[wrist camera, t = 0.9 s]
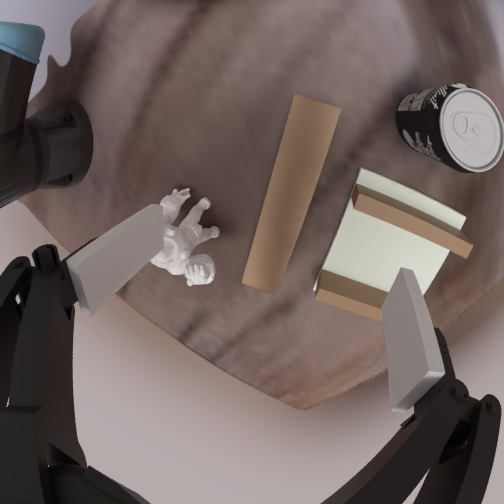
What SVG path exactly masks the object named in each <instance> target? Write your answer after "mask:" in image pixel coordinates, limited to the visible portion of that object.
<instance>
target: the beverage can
mask: <svg viewBox="0 0 504 504" xmlns="http://www.w3.org/2000/svg"><path fill="white" fill-rule="evenodd" d="M397 125H398V129H399V132H400V134H401V136H402V137H403V139H404V140H405V142H406V143H407V144H408V145H409V146H410V147H412V148H413V149H414V150H416V151H418V152H421V153H423V154H425V155H427V156H429V157H431V158H433V159H435V160H437V161H439V162H441V163H443V164H445V165H447V166H449V167H451V168H453V169H455V170H457V171H459V172H463V173H475V172H483V171H486V170H489V169H490V168H492V167H493V166H494V165H495V164H496V163H497V162H498V161H499V159H500V157H501V155H502V153H503V150H504V124H503V120H502V117H501V115H500V113H499V111H498V109H497V107H496V106H495V105H494V103H493V102H492V101H491V100H490V99H489V98H488V97H487V96H486V95H485V94H483V93H482V92H480V91H478V90H475V89H473V88H472V87H470V86H467V85H464V84H459V83H453V84H448V85H443V86H439V87H435V88H430V89H426V90H422V91H419V92H415V93H412V94H409V95H408V96H406V97H405V98H404V99H403V100H402V102H401V103H400V105H399V108H398V111H397Z"/></svg>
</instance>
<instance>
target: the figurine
mask: <svg viewBox="0 0 504 504" xmlns="http://www.w3.org/2000/svg"><path fill="white" fill-rule="evenodd" d="M188 191H190V188H187V189H184V190H181V191H180V192H178V190H177V189H174V190H173V193H172V194H171V195H170V196H169V195H167V196H166V197H164V198H163V199H162V200H161V203H160V205H161V206H163V239H164V248H163V249H162V250H161V251H160V252H159V253H158V254H157V255H156V256H154V257H153V258H152V259H151V260H150V262H151V263H152V264H155V265H156V266H158V267H161V268H165V269H167V270H168V271H169V272H170V273H171V274H173V275H181V274H184V273H185V277H186V278H187V280H188V281H187V284H188V285H189V286H192V285H193V284H196V285H199V284H208V283H210V282H211V281H213V280H214V275H215V266H214V261H212V258H211V257H210V256H209V255H208V254H199V255H193V256H190V254H191V252H192V251H193V249H194V247H195V246H197V245H198V243H201V242H204V241H206V240H208V239H210V238H216V237H218V236H219V235H220V230H219V228H218V227H216V226H212V227H211V228H204V229H203V227H202V226H201V225H199V224H198V222H199V221H200V218H201V215H202V214H203V211H204V210H205V209H206V210H207V209H209V208H210V206H211V202H210V200H209V199H208V198H205V197H204V198H202V199H201V200H200V201H199V203H198V204H197V205H196V206H194V207H193V208H192V209H191V210H190V212H189V214H188V216H187V217H186V218H185V219H184V220H183V221H182V222H181V223H180V225H179V226H178V227H175V226H172V225H171V224H172V223H173V222H174V221H175V219H176V218H177V216H178V215H179V210H180V207H181V205H182V204H183V203H185V200H186V199H187V198H189V197H190V196H191V195H190V194H189V192H188Z"/></svg>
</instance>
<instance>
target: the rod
mask: <svg viewBox="0 0 504 504" xmlns="http://www.w3.org/2000/svg"><path fill="white" fill-rule="evenodd" d="M340 111H341V109H340V108H338V107H335V106H332V105H329V104H326V103H323V102H320V101H316V100H313V99H310V98H306V97H303V96H300V95H296V94H294V98H293V101H292V105H291V109H290V112H289V116H288V119H287V123H286V126H285V130H284V133H283V137H282V140H281V144H280V148H279V151H278V155H277V158H276V162H275V165H274V169H273V172H272V176H271V180H270V183H269V187H268V190H267V194H266V197H265V201H264V204H263V208H262V212H261V215H260V219H259V222H258V226H257V229H256V233H255V237H254V240H253V244H252V247H251V251H250V254H249V258H248V262H247V265H246V269H245V272H244V276H243V280H242V283H244V284H246V285H249V286H251V287H254V288H257V289H259V290H262V291H265V292H267V293H270V294H273V295H276V294H277V291H278V289H279V286H280V284H281V281H282V278H283V276H284V273H285V271H286V268H287V265H288V263H289V260H290V257H291V255H292V252H293V249H294V247H295V244H296V241H297V239H298V236H299V233H300V230H301V228H302V225H303V222H304V219H305V216H306V214H307V211H308V208H309V205H310V202H311V199H312V197H313V194H314V191H315V188H316V185H317V182H318V179H319V176H320V173H321V170H322V167H323V164H324V161H325V158H326V155H327V152H328V149H329V146H330V143H331V140H332V137H333V134H334V130H335V127H336V124H337V121H338V118H339V114H340Z"/></svg>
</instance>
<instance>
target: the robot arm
mask: <svg viewBox="0 0 504 504" xmlns="http://www.w3.org/2000/svg"><path fill="white" fill-rule="evenodd" d="M44 39H45V32H44V30H43V29H42V28H41V27H40V26H36V25H30V24H22V23H14V22H1V21H0V208H2V207H4V206H5V205H7V204H9V203H11V202H13V201H15V200H17V199H19V198H21V197H22V196H24V195H26V194H28V193H30V192H33V191H35V190H37V189H50V188H66V187H69V186H71V185H73V184H76V183H78V182H79V181H80V180H81V179H82V178H83V177H84V176H85V174H86V172H87V170H88V168H89V165H90V161H91V156H92V132H91V127H90V123H89V120H88V117H87V115H86V113H85V111H84V109H83V108H82V107H81V105H80V104H78V103H77V102H75V101H73V100H63V101H57V102H54V103H52V104H50V105H49V106H47V107H45V108H43V109H42V110H40V111H38V112H37V113H35V114H34V115H32V116H30V117H29V118H26V119H25V116H26V110H27V104H28V99H29V95H30V90H31V86H32V82H33V78H34V74H35V70H36V67H37V64H39V57H40V53H41V49H42V46H43V42H44ZM163 248H164V239H163V206H161V205H157V204H150V205H149V206H147V207H145V208H144V209H142V210H140V211H139V212H137V213H135V214H134V215H132V216H131V217H129V218H127V219H126V220H124V221H123V222H121V223H120V224H118V225H117V226H115V227H113V228H112V229H110V230H109V231H107V232H106V233H104V234H103V235H101V236H99V237H97V238H94V239H92V240H90V241H89V242H87V243H86V244H85V245H83V246H82V247H80V248H79V249H77V250H76V251H74V252H73V253H72V254H70V255H69V256H68V257H66V258H65V259H63V260H62V261H61V262H60V259H59V255H58V251H57V247H56V246H55V245H52V244H46V245H42V246H40V247H38V248H37V249H35V250H34V251H33V253H32V257H33V260H34V263H35V267H34V266H31V263H30V260H29V258H28V257H26V256H20V257H17V258H15V259H14V260H12V262H10V264H9V265H8V266H7V267H6V269H5V270H4V272H3V273H2V274H1V276H0V504H150V503H149V502H148V501H147V500H145V499H144V498H143V497H142V496H140V495H139V494H138V493H136V492H134V491H132V490H130V489H128V488H127V487H125V486H123V485H121V484H119V483H118V482H116V481H115V480H113V479H111V478H109V477H107V476H106V475H104V474H102V473H101V472H99V471H97V470H96V469H94V468H93V467H91V466H88V468H87V463H86V459H85V455H84V452H83V450H82V448H81V446H80V444H79V442H78V438H77V431H76V423H75V412H74V399H73V375H72V374H73V371H72V370H73V368H72V366H73V365H72V360H73V357H72V355H73V331H74V316H75V308H74V305H73V304H74V303H76V302H77V301H78V303H79V305H80V308H81V310H82V311H83V312H85V313H87V314H89V315H91V316H93V315H94V314H95V313H96V312H97V311H98V310H99V309H100V308H101V307H102V306H103V305H104V304H105V303H106V302H107V301H108V300H109V299H110V298H111V297H112V296H113V295H114V294H115V293H116V292H117V291H118V290H119V289H120V288H121V287H122V286H123V285H124V284H125V283H126V282H127V281H129V280H130V279H131V278H132V277H133V276H134V275H135V274H136V273H137V272H138V271H139V270H140V269H141V268H142V267H144V266H145V265H146V264H147V263H148V262H149V261H150V260H151V259H152V258H153V257H154V256H156V255H157V254H158V253H159V252H160V251H161V250H162V249H163ZM17 294H18V296H19V298H20V303H19V304H17V302H16V299H15V298H16V296H17ZM381 310H382V317H383V325H384V333H385V341H386V351H387V362H388V375H389V391H390V411H393V412H404V413H405V412H407V411H408V410H409V409H410V408H411V407H412V406H413V405H414V414H413V415H411V417H409V418H408V419H407V420H406V421H404V422H403V423H402V424H401V425H400V426H401V428H400V430H399V431H398V432H397V433H396V434H395V436H394V437H393V438H392V439H391V440H390V441H389V442H388V443H387V444H386V445H385V446H384V447H383V449H382V450H381V451H380V452H379V453H378V454H377V455H376V456H375V457H374V458H373V459H372V460H371V461H370V462H369V463H368V464H367V465H366V466H365V467H364V468H363V469H361V470H360V471H359V472H358V473H357V474H356V475H355V476H354V477H353V478H352V479H351V480H349V481H348V482H347V483H346V484H345V485H343V486H342V487H341V488H340V489H339V490H338V491H336V492H335V493H334V494H333V495H332V496H330V497H329V498H327V499H326V500H325V501H324V502H322V503H321V504H402V503H403V502H404V501H405V500H406V498H407V497H408V496H409V495H410V494H411V492H412V491H413V490H414V488H415V487H416V486H417V485H418V483H419V482H420V481H421V480H422V478H423V477H424V475H425V474H426V473H427V471H428V469H429V472H428V474H427V476H426V478H425V481H424V483H423V485H422V487H421V489H420V491H419V493H418V495H417V497H416V499H415V501H414V503H413V504H481V503H482V500H483V497H484V494H485V491H486V488H487V484H488V481H489V477H490V474H491V470H492V466H493V462H494V457H495V452H496V446H497V441H498V435H499V428H500V421H501V405H500V402H499V400H498V399H497V398H496V397H495V396H494V395H491V394H487V395H485V397H483V398H482V399H481V400H480V401H479V400H477V399H475V398H472V397H470V396H469V392H468V389H467V387H466V386H465V385H464V383H463V382H461V381H460V380H458V379H456V377H455V373H454V370H453V365H452V362H451V358H450V355H449V351H448V348H447V344H446V340H445V337H444V336H443V334H442V333H441V331H440V330H439V328H435V327H433V325H432V322H431V318H430V315H429V312H428V309H427V306H426V303H425V300H424V298H423V295H422V292H421V289H420V287H419V284H418V281H417V279H416V276H415V274H414V271H413V270H410V269H407V268H403V267H401V268H400V270H399V272H398V274H397V276H396V279H395V281H394V283H393V285H392V287H391V289H390V291H389V293H388V295H387V297H386V299H385V301H384V303H383V305H382V307H381ZM8 398H9V405H8V407H6V406H7V402H8ZM48 465H49V467H48Z"/></svg>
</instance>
